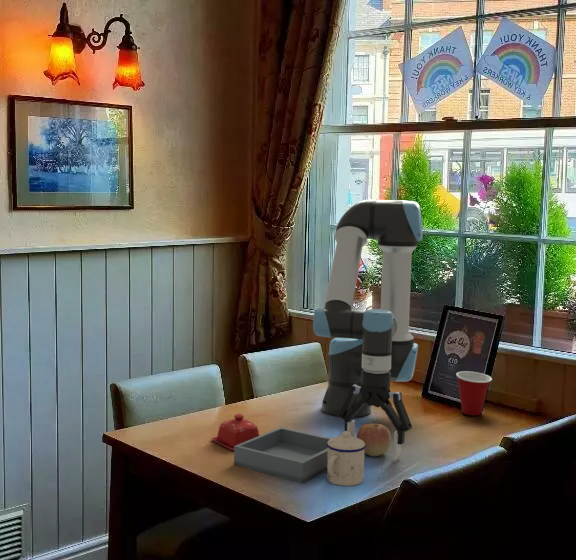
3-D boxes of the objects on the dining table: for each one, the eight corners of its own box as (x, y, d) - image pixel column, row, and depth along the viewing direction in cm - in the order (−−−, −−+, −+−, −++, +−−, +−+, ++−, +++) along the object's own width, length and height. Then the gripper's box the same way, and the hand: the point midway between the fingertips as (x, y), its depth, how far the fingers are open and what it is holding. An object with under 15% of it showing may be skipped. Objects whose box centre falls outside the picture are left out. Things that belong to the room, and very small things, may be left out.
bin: (233, 465, 200) (234, 446, 200) (280, 445, 217) (280, 427, 216) (302, 484, 189) (302, 463, 188) (345, 460, 205) (346, 441, 205)
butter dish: (268, 447, 216) (269, 415, 215) (232, 455, 209) (233, 422, 208) (244, 436, 225) (244, 406, 224) (208, 443, 218) (208, 412, 217)
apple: (367, 461, 205) (368, 430, 204) (350, 450, 213) (351, 421, 212) (396, 457, 209) (397, 427, 208) (378, 447, 217) (379, 417, 216)
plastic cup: (479, 420, 244) (481, 381, 242) (447, 413, 251) (449, 374, 250) (496, 413, 252) (498, 375, 251) (465, 406, 259) (467, 369, 258)
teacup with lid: (338, 470, 199) (339, 423, 197) (371, 478, 193) (373, 430, 192) (311, 484, 189) (312, 435, 187) (345, 493, 184) (347, 443, 182)
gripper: (326, 365, 212) (324, 444, 215) (414, 380, 199) (410, 464, 201) (341, 361, 219) (339, 438, 221) (427, 374, 205) (423, 456, 207)
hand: (373, 450), depth 211 cm, fingers open, 13 cm apart
